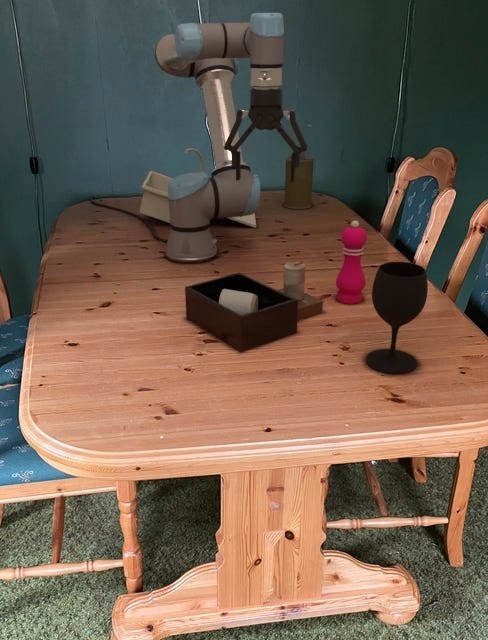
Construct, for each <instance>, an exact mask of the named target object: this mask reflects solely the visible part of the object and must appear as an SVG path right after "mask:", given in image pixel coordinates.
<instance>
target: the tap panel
mask: <svg viewBox="0 0 488 640" xmlns="http://www.w3.org/2000/svg"><path fill="white" fill-rule="evenodd" d="M277 290H278V291H280V292H282V293H283V290H284V287H283V288H280V289H277ZM323 306H324V301H323V300H321V299H319V298H317V297H315V296H313V295H311V294H309V291H306V292H304V298H303V299H302V300H299V301H298V313H297V322H299V321H301V320H304V319H308V318H310V317H313V316H316V315H319V314H322V313H323V311H324V310H323V309H324V307H323Z"/></svg>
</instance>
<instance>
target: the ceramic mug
mask: <svg viewBox="0 0 488 640" xmlns="http://www.w3.org/2000/svg"><path fill="white" fill-rule="evenodd" d="M219 304H221V305H223V306H225V307H227V308H229V309H230V310H232V311H234V312H236V313H238V314H240V315H244V314H247V313H251V312H254V311H257V310H258V297H257V295H255V294H252V293H248V292H241V291H235V290H228V289H223V290H222V292H221V294H220V298H219Z"/></svg>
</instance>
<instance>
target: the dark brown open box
mask: <svg viewBox="0 0 488 640" xmlns="http://www.w3.org/2000/svg"><path fill="white" fill-rule="evenodd" d="M223 289H228V290H235V291H241V292H248V293H252V294H255V295H257V297H258V310H257V311H254V312H251V313H247V314H244V315H240V314H238V313H236V312H234V311H232V310H230V309H229V308H227V307H225V306H223V305H221V304H219V298H220V294H221V292H222V290H223ZM278 290H279V289H277V288H274V287H271V286H269V285H267V284H265V283H263V282H261V281H259V280H256V279H254V278H252V277H250V276H248V275H246V274H244V273H241V272H237V273H233V274H232V273H231V274H229V275H224V276H221V277H218V278H213V279H209V280H205V281H202V282H199V283H195V284H190V285H187V286H184V295H185V296H184V299H185V314H186V315H185V318H186V320H188V321H189V322H191V323H193V324H194V325H196V326H198V327H199V328H200V329H203V330H204V331H205V332H207V333H209V334H210V335H212V336H214V337H215V338H217V339H220V340H221V341H222V342H224V343H225V344H227V345H229V346H230V347H232V348H233V349H235V350H237V351H238V352H240V353H241V352H245V351H248V350H251V349H254V348H256V347H260V346H262V345H266V344H268V343H271V342H274V341H278V340H280V339H283V338H286V337H289V336H292V335H294V334H295V335H296V334H297V333H298V321H297V313H298V300H297V299H295V298H293V297H291V296H289V295H287V294H284V293H282V292H280V291H278Z"/></svg>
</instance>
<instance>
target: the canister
mask: <svg viewBox="0 0 488 640" xmlns="http://www.w3.org/2000/svg"><path fill="white" fill-rule="evenodd" d="M292 152H294V151H293V150H292ZM315 160H316V156H315V157H314V156H309V155H306V153H305V151H304V152H301V153H300V164H299V167H295V180H294V182H291V155H290V156H285V175H284V176H285V178H284V179H285V180H284V203H283V206H284V207H285V208H287V209H291V210H306V209H307V210H308V209H309V208H312V206H313V205H312V198H313V197H312V196H313V195H312V194H313V179H314V177H315V174H316V167H314V161H315Z"/></svg>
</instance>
